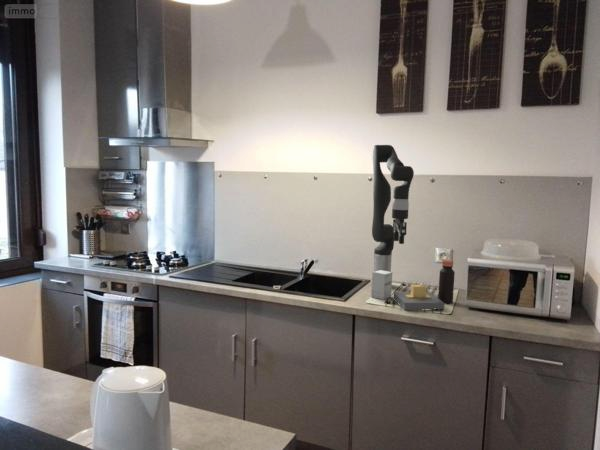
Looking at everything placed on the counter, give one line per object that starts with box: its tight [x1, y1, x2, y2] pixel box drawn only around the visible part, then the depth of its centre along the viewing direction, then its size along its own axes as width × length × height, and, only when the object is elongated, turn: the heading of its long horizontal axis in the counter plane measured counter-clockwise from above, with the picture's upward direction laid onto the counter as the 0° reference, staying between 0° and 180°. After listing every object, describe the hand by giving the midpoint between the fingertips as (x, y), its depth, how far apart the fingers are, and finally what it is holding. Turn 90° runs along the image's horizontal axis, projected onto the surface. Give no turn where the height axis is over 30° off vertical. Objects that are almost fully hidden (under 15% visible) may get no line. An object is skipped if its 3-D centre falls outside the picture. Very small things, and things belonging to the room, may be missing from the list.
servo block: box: [405, 282, 431, 299], centre depth 219 cm, size 4×11×10 cm, turn 94°
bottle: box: [437, 259, 456, 305], centre depth 224 cm, size 7×7×20 cm
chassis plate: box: [393, 291, 445, 311], centre depth 219 cm, size 18×18×4 cm
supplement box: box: [370, 270, 393, 300], centre depth 231 cm, size 7×7×13 cm
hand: (398, 242), depth 224 cm, fingers open, 8 cm apart
